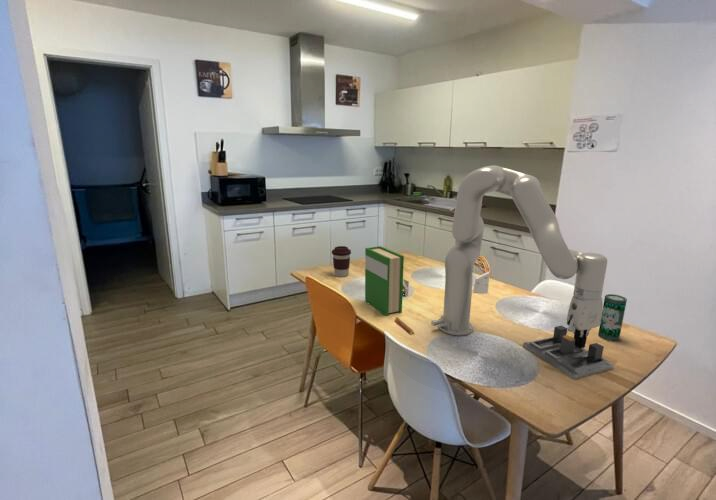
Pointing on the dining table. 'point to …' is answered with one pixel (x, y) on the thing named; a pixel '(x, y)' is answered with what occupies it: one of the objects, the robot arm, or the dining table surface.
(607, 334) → the can
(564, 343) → the block
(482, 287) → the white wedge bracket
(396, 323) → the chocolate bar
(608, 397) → the dining table surface
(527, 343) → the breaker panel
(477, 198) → the robot arm
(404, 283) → the architectural model
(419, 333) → the dining table surface
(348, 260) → the coffee cup
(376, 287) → the hardback book
